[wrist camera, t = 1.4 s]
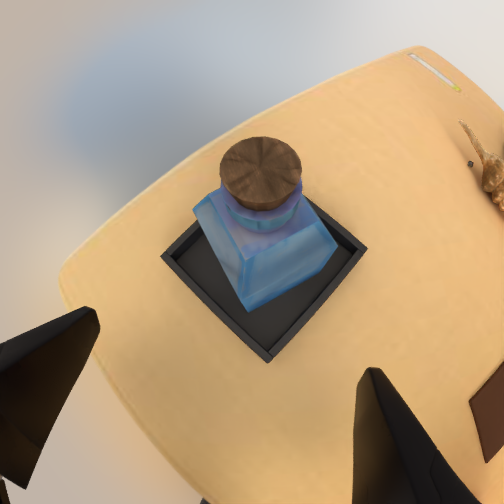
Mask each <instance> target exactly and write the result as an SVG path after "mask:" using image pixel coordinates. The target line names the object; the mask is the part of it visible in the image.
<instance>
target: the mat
mask: <svg viewBox="0 0 504 504" xmlns="http://www.w3.org/2000/svg"><path fill="white" fill-rule="evenodd" d="M469 403H470V406H471V409H472V413H473V416H474V419H475V423H476V426H477V430H478V434H479V438H480V442H481V446H482V450H483V454H484V459H485V463H488V462H489V461H490V460H491V459H492V458H493V456H494V455H495V454H496V453H497V452H498V451H499V450H500V449H501V448H502V446H503V445H504V362H503V363H502V364H501V366H500V367H499V368H498V369H497V370H496V372H495V373H494V374H493V375H492V376H491V378H490V379H489V380H488V381H487V382H486V383H485V384H484V386H483V387H482V388H481V389H480V390H479V391H478V392H477V393H476V394H475V395H474V396H473V397H472V398H471V399H470V400H469Z"/></svg>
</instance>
